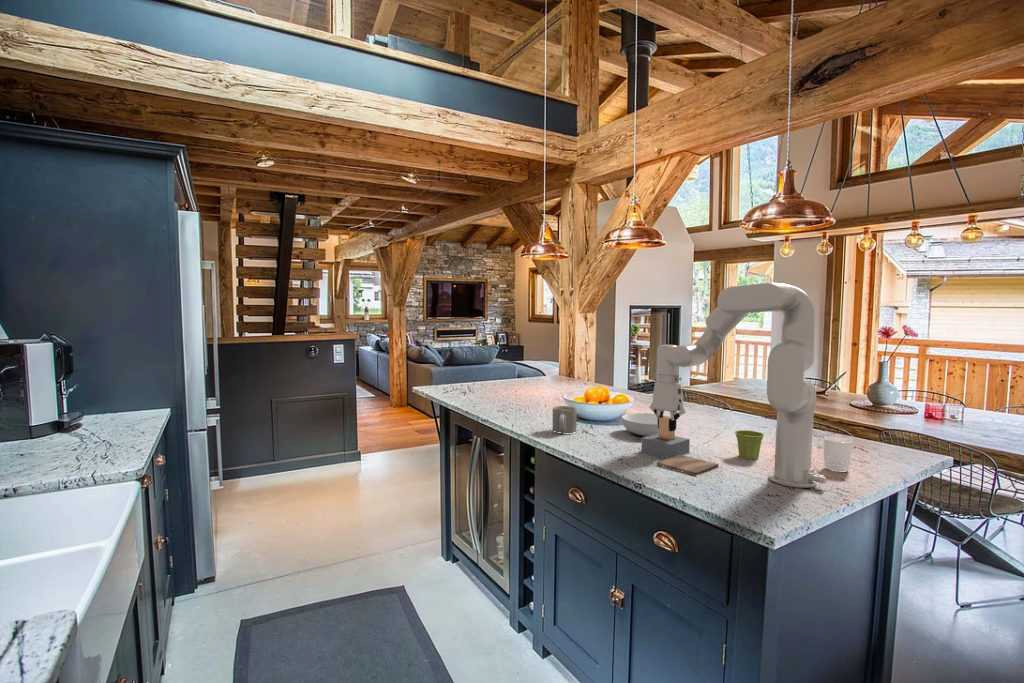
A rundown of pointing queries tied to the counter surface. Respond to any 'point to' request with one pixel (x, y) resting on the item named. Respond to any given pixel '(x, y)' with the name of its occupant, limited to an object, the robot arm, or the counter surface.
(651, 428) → the serving bowl
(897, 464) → the counter surface
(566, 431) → the coffee mug
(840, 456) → the white cup
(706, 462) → the walnut mat
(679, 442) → the socket block
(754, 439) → the plant pot
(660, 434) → the copper peg
